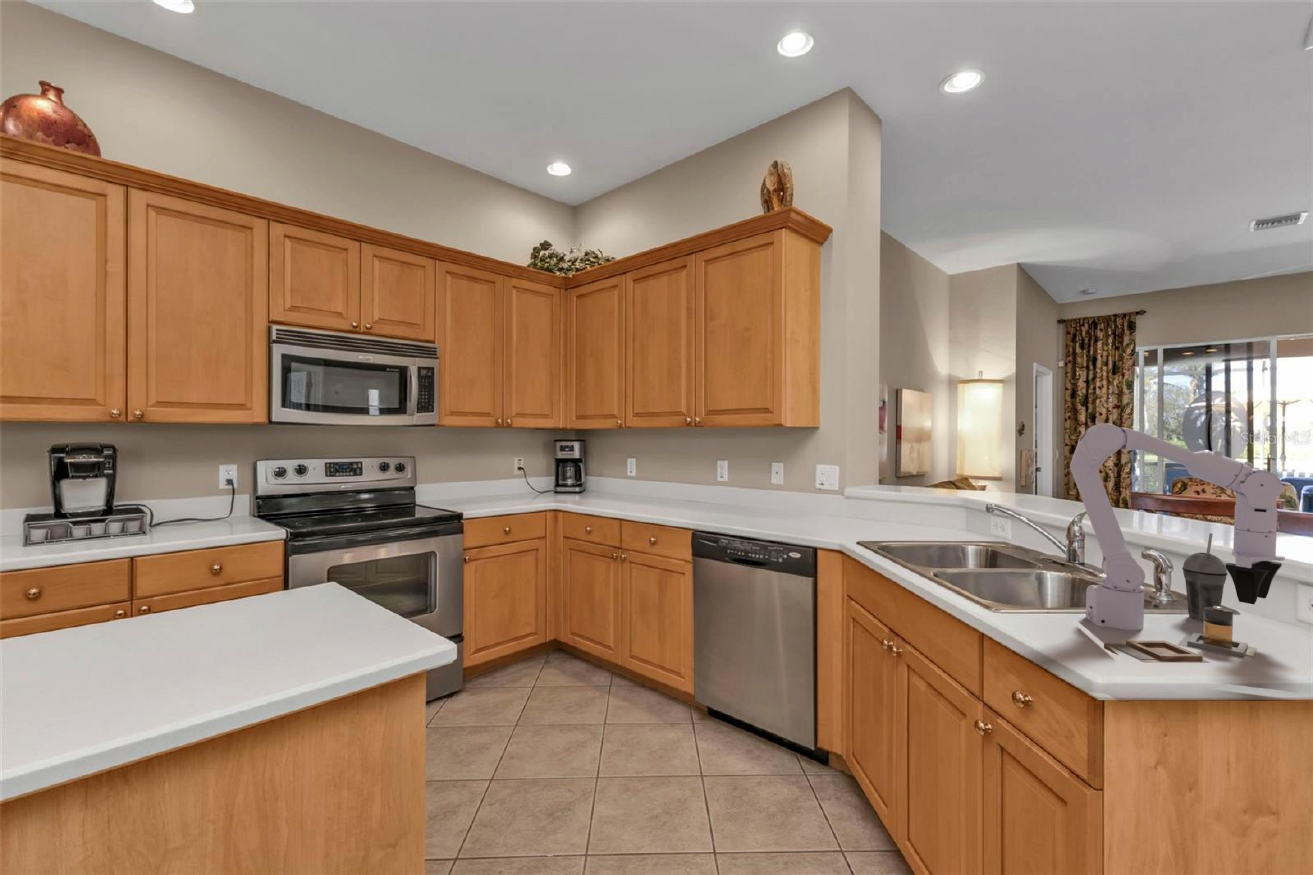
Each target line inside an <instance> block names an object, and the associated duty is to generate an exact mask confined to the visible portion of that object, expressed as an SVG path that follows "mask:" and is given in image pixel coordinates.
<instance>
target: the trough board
mask: <svg viewBox="0 0 1313 875" xmlns="http://www.w3.org/2000/svg"><path fill="white" fill-rule="evenodd" d="M1112 648H1113V649H1115V650H1117V651H1119V652H1121V653H1124V654H1126V655H1127V656H1130V657H1132V658H1134V659H1136V660H1138V661H1140V662H1143V663H1211V661H1208V660H1205V659H1203V655H1201V654H1198V653H1196V652H1193V651H1191V650H1189V649H1186V648H1184V647H1182V646H1180V645H1176V644H1174V643H1171V642H1169V641H1166V640H1125V643H1124V642H1123V643H1121V642H1120V643H1119V642H1118V643H1116V642H1114V643H1112V642H1109V643H1106V642H1105V643H1103V649H1104V650H1106V651H1108V652H1111V653H1113V654H1115V655H1117V656H1119V654H1118V653H1117V652H1115V651H1114V650H1113V649H1112Z"/></svg>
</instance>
